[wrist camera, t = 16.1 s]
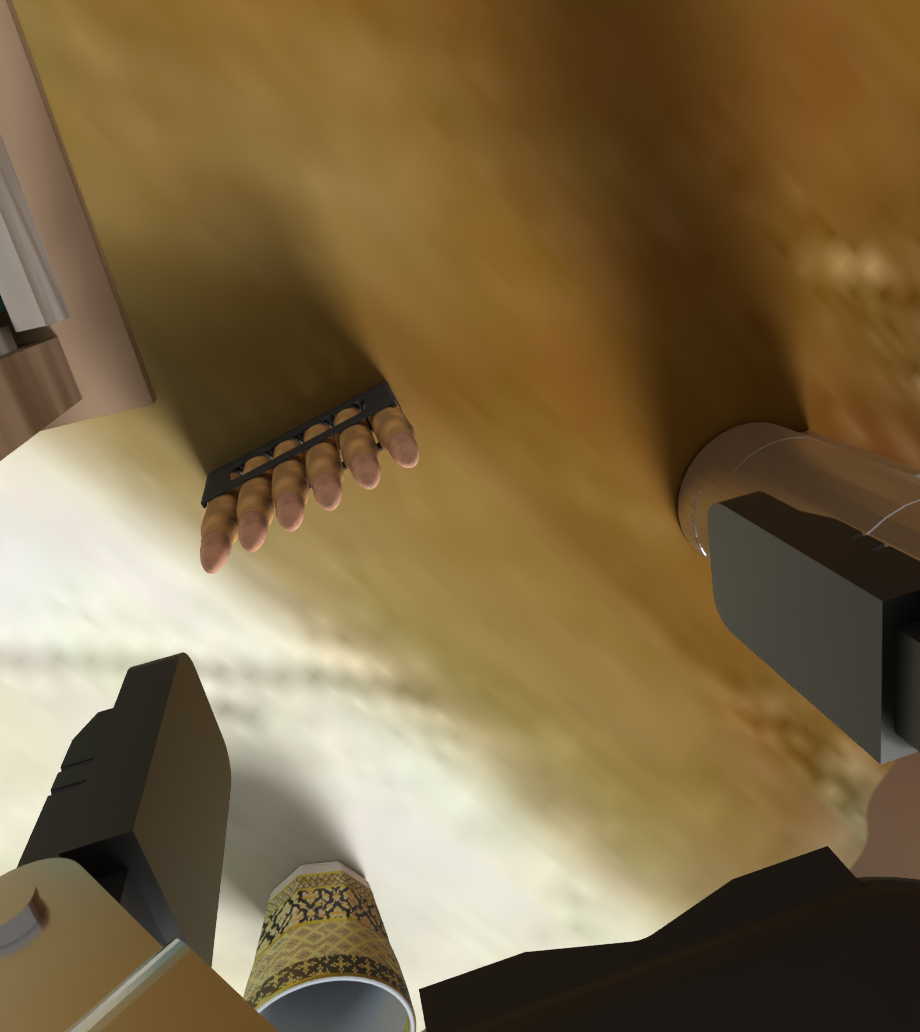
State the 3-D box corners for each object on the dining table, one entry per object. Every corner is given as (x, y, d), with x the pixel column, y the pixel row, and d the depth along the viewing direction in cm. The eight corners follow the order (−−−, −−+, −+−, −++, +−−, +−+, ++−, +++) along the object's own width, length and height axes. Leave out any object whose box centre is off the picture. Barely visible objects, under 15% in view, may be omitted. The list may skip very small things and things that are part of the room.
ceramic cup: (240, 848, 48) (228, 991, 39) (396, 832, 50) (420, 964, 41) (246, 997, 52) (236, 1159, 43) (390, 977, 54) (410, 1127, 45)
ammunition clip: (225, 503, 40) (201, 601, 29) (206, 474, 40) (174, 563, 29) (402, 410, 41) (443, 472, 30) (386, 380, 40) (422, 431, 29)
